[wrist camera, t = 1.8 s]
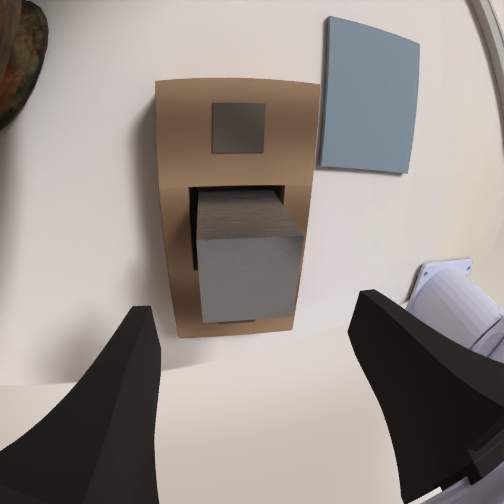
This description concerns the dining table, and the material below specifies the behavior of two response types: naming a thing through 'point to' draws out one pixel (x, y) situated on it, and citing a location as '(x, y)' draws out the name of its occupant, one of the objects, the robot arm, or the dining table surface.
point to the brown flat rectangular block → (229, 170)
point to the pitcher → (19, 54)
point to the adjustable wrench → (492, 40)
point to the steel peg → (246, 254)
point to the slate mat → (368, 98)
